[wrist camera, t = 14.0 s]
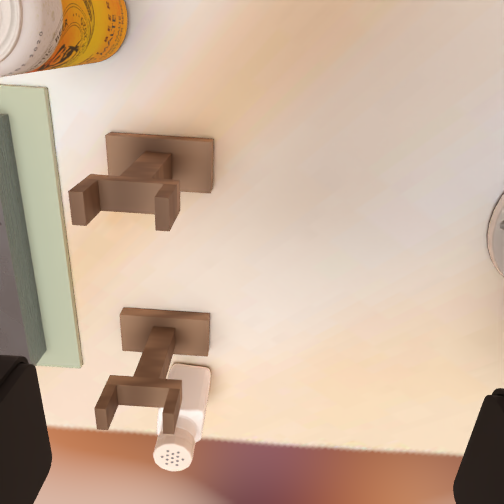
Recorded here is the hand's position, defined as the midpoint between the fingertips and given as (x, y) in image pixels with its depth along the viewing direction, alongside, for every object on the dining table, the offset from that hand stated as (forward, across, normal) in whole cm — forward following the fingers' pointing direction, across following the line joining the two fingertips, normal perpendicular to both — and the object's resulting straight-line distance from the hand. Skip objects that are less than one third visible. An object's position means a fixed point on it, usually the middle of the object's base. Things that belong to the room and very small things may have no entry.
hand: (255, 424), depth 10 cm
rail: (+28, +21, +10) cm, 36 cm away
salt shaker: (+28, +6, +24) cm, 38 cm away
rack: (+28, +8, +10) cm, 31 cm away
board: (+28, +21, +10) cm, 37 cm away
